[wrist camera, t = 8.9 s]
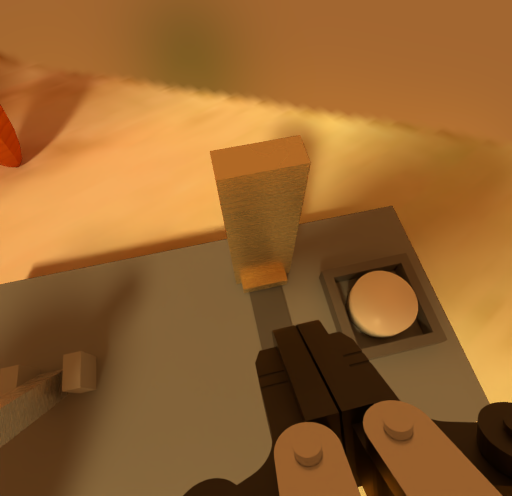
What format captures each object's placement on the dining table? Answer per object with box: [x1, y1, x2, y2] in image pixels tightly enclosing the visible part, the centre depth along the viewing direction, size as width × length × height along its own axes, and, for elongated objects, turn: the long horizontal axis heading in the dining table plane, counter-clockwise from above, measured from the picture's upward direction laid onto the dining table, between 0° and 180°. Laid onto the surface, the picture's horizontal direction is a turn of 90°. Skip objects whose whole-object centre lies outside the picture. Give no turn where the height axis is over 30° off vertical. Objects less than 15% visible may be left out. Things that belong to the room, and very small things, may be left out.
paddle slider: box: [210, 135, 310, 293], centre depth 14 cm, size 3×2×9 cm
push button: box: [347, 271, 418, 338], centre depth 17 cm, size 3×3×1 cm
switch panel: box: [0, 206, 489, 496], centre depth 17 cm, size 24×12×4 cm, turn 102°
